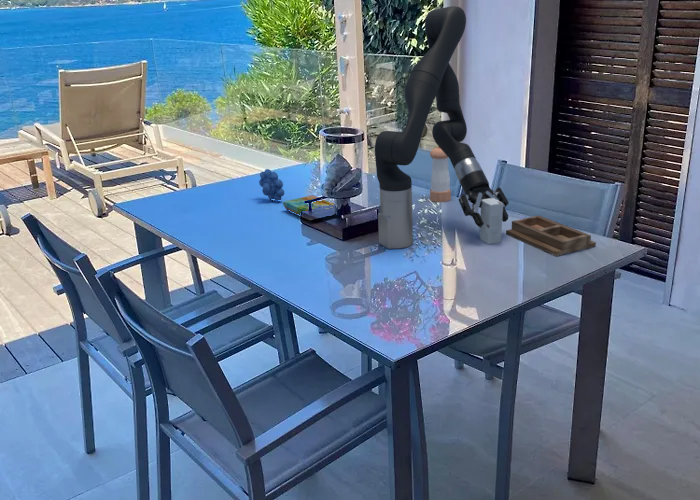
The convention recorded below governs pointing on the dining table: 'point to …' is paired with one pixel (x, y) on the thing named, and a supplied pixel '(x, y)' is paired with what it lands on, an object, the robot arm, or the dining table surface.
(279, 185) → the grapes
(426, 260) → the dining table surface
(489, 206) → the skincare box
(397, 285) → the dining table surface
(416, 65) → the robot arm
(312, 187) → the dining table surface
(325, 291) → the dining table surface
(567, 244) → the rack
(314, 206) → the puzzle game
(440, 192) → the salt shaker
